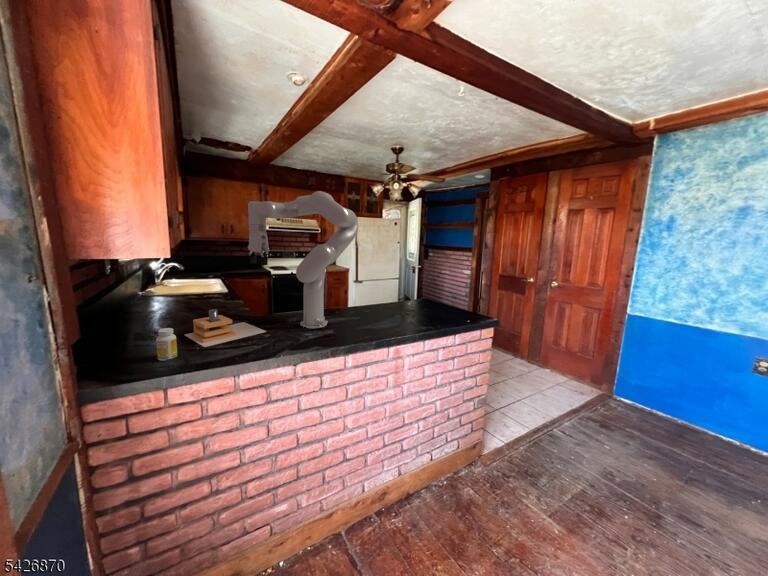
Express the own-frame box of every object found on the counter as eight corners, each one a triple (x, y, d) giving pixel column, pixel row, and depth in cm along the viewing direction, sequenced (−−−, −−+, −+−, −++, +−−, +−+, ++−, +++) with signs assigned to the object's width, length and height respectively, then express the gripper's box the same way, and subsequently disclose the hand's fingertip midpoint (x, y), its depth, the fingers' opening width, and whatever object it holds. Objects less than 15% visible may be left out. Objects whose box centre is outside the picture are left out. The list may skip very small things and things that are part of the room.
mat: (267, 332, 138) (267, 331, 138) (204, 348, 117) (204, 347, 117) (244, 323, 150) (244, 322, 150) (183, 336, 130) (183, 334, 129)
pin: (220, 333, 130) (218, 310, 128) (212, 335, 127) (210, 311, 126) (216, 331, 132) (215, 308, 130) (208, 333, 129) (207, 310, 127)
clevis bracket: (236, 335, 131) (235, 319, 130) (203, 343, 121) (202, 326, 120) (223, 328, 139) (222, 314, 137) (191, 335, 128) (189, 320, 127)
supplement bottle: (160, 362, 104) (157, 333, 102) (155, 357, 108) (152, 329, 106) (180, 357, 108) (177, 330, 107) (174, 353, 112) (172, 326, 110)
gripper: (275, 229, 145) (275, 265, 148) (255, 228, 155) (256, 262, 158) (260, 228, 139) (261, 266, 142) (240, 227, 149) (242, 263, 152)
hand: (258, 264), depth 150 cm, fingers open, 9 cm apart
